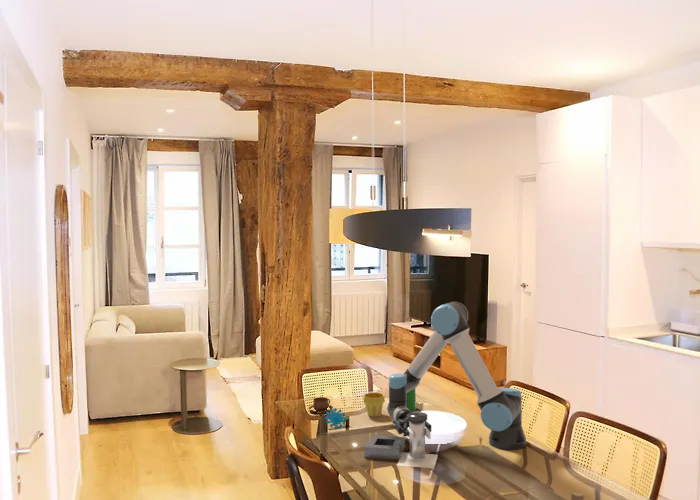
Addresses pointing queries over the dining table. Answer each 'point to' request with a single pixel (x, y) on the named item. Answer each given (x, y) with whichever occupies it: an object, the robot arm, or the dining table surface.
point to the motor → (411, 400)
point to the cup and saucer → (321, 405)
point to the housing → (384, 447)
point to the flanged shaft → (417, 434)
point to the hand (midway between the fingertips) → (421, 436)
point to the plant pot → (374, 403)
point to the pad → (418, 461)
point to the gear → (336, 418)
